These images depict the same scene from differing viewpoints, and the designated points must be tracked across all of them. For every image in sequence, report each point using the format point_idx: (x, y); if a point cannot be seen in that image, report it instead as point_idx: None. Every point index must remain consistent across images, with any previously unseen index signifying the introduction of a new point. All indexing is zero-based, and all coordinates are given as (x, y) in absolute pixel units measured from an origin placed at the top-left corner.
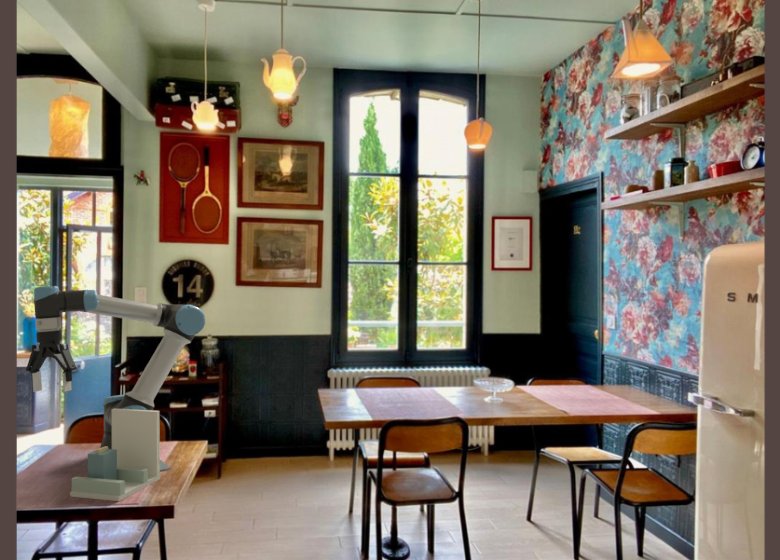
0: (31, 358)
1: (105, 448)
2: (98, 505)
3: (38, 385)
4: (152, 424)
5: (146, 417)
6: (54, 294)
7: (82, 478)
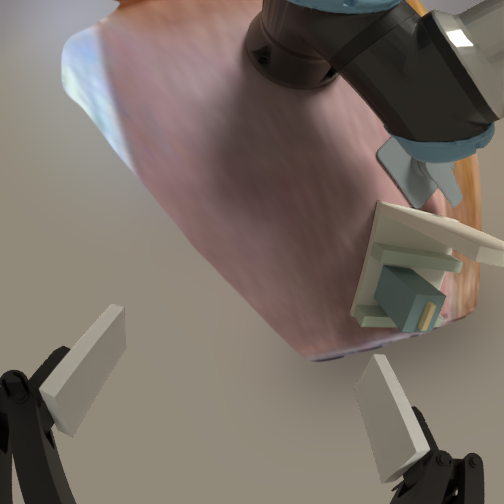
0: None
1: (432, 312)
2: (403, 332)
3: (108, 348)
4: None
5: None
6: None
7: (379, 323)
